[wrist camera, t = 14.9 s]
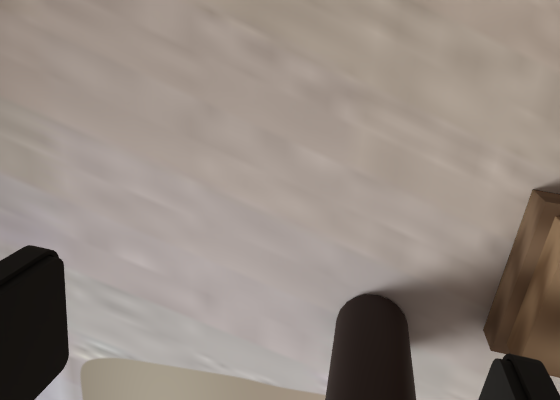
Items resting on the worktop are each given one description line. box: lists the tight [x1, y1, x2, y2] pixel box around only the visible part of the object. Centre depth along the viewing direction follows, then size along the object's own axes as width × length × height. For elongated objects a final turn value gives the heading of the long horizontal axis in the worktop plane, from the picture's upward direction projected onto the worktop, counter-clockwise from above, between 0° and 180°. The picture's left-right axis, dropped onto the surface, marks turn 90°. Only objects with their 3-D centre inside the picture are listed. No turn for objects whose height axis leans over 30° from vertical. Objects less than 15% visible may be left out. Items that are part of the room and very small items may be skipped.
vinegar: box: [325, 295, 416, 400], centre depth 34 cm, size 7×7×20 cm
